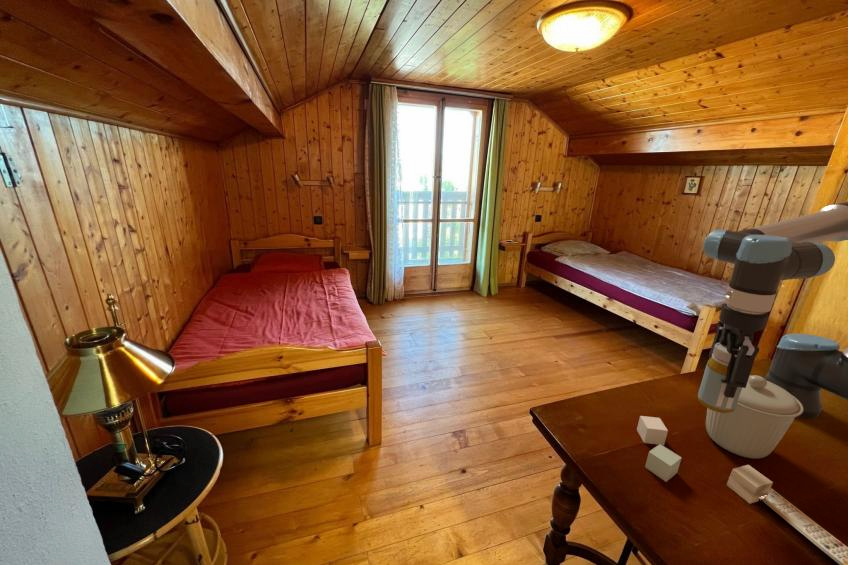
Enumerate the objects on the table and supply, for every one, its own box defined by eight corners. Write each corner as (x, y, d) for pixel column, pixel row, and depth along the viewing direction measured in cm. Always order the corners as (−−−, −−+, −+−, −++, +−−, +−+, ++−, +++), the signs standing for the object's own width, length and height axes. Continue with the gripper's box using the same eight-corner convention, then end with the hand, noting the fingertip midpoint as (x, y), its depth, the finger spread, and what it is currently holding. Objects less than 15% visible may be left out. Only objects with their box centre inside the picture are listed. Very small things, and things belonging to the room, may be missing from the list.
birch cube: (742, 480, 84) (748, 464, 83) (765, 498, 80) (773, 482, 78) (726, 485, 83) (732, 469, 81) (749, 504, 78) (756, 487, 77)
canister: (707, 458, 90) (730, 390, 84) (685, 414, 106) (703, 353, 100) (797, 479, 84) (830, 407, 78) (759, 428, 101) (783, 365, 94)
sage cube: (655, 459, 90) (659, 444, 89) (676, 473, 86) (681, 457, 85) (644, 467, 88) (649, 451, 86) (666, 482, 84) (670, 466, 82)
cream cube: (655, 432, 99) (659, 417, 98) (663, 445, 95) (668, 430, 93) (636, 430, 100) (640, 415, 99) (643, 443, 96) (647, 428, 94)
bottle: (741, 416, 79) (761, 358, 74) (706, 412, 80) (723, 355, 76) (723, 397, 86) (740, 342, 81) (691, 393, 87) (706, 340, 82)
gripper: (708, 291, 84) (685, 373, 92) (744, 323, 68) (713, 420, 75) (746, 294, 82) (720, 379, 89) (793, 328, 65) (756, 428, 73)
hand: (717, 397), depth 82 cm, fingers closed on bottle, 6 cm apart
